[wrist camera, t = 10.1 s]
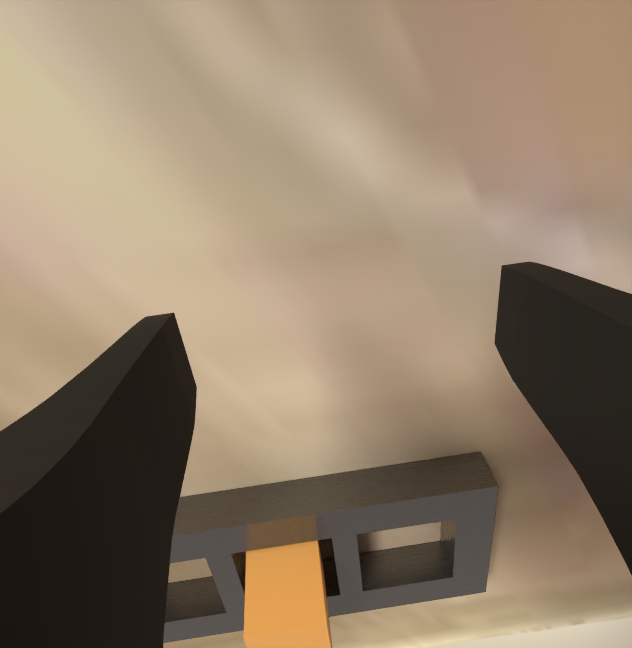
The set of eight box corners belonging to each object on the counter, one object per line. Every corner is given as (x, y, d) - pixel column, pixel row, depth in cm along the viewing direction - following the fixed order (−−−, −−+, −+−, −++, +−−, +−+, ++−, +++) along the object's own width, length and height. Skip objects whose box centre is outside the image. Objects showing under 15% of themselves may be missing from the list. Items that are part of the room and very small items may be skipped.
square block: (313, 504, 30) (326, 625, 24) (320, 545, 32) (334, 666, 26) (247, 514, 29) (243, 638, 24) (258, 554, 32) (257, 678, 26)
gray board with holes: (480, 451, 29) (498, 486, 26) (471, 556, 34) (485, 591, 32) (64, 515, 28) (47, 555, 26) (120, 610, 33) (110, 651, 31)
